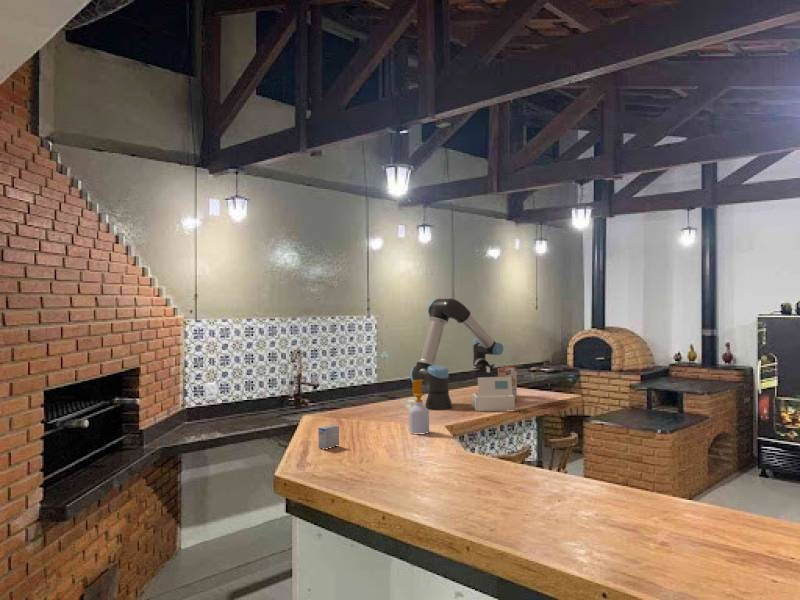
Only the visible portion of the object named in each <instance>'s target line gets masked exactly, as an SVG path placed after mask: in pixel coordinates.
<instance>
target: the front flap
mask: <svg viewBox="0 0 800 600" xmlns="http://www.w3.org/2000/svg"><path fill="white" fill-rule="evenodd" d="M477 388H478V391H477V392H479V396H505V395H513V394H512V380H511V377H498V376H492V377H491V376H489V377H487V376H485V377H483V376H482V377H477Z"/></svg>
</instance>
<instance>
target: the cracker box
mask: <svg viewBox="0 0 800 600" xmlns="http://www.w3.org/2000/svg"><path fill="white" fill-rule="evenodd" d="M517 370H518V369H517V366H513V365H512V366H511V365H510V366H509V365H508V366H502V367H498V368H497V377H511V380H512V394H513V395H514V396H515V402H518V401H517V399H518V396H517V394H518V392H517V387H518V385H517V382H518V380H517V377H518V375H517V372H518V371H517Z"/></svg>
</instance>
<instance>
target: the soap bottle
mask: <svg viewBox="0 0 800 600" xmlns="http://www.w3.org/2000/svg"><path fill="white" fill-rule="evenodd" d="M422 381H424V380H414V381H413V382H412V394H413V395H414V396H415V398H416V400H415V401H414V404H415V405H413V406H412V407H411V408H410V409H409V411H408V412H409V413H408V415H409V416H408V417H409V420H408V422H409V423H408V425H409V433H410V432H412V433H426V432H429V433H430V411H429V410H430V409H427V408H426V407H425V405H423V400H422V399H421V398H422V397H423V396H425V394H424V393H423V392H422V387H421V382H422Z"/></svg>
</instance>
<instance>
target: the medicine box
mask: <svg viewBox="0 0 800 600" xmlns="http://www.w3.org/2000/svg"><path fill="white" fill-rule="evenodd" d="M317 429H318V430H317V431H318V433H317V434H318V449H319V448H324V449H326V448H329V447H333V446H336V445H339V446H340V426H339V425H334V424H329V425H325V426H322V427H319V428H317Z"/></svg>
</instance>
